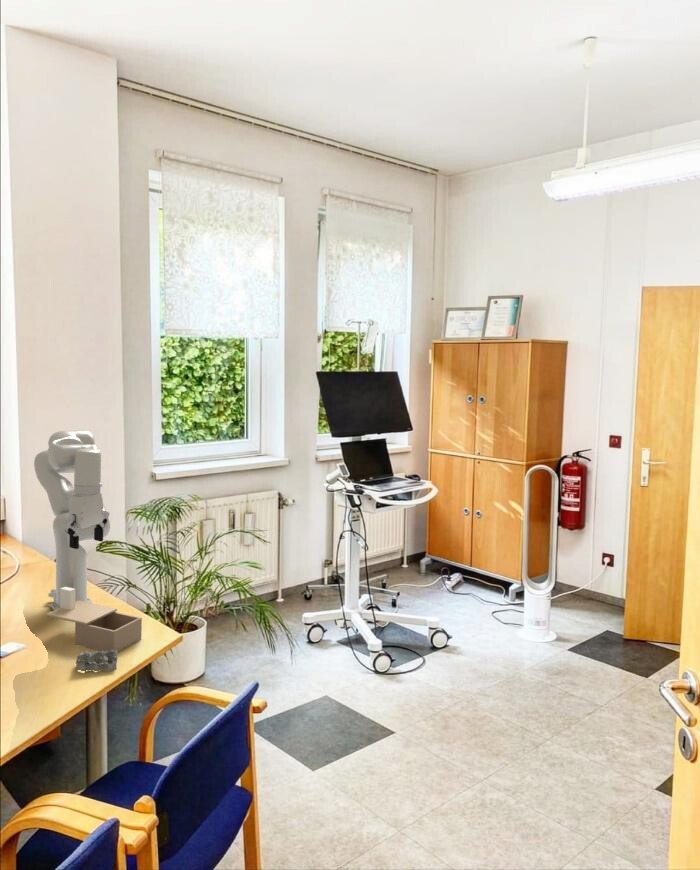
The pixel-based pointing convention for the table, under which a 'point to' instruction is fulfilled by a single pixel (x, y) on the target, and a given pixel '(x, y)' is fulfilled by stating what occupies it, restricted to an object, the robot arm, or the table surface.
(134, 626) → the carton
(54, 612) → the lid
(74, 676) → the table surface
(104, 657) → the egg carton
